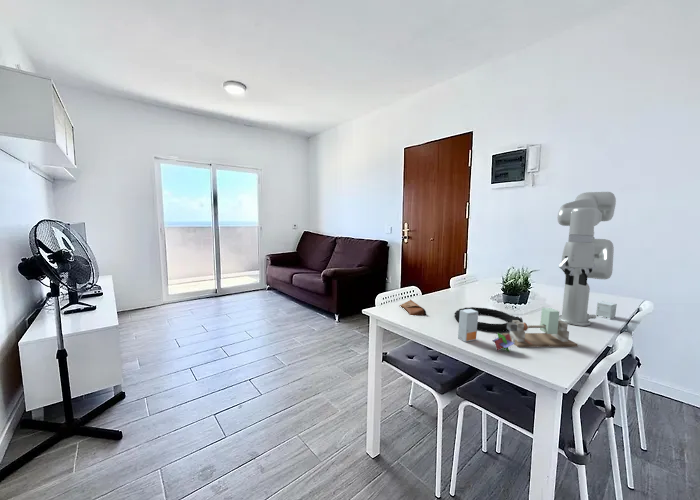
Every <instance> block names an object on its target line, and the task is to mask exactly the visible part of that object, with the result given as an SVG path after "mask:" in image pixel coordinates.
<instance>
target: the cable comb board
mask: <svg viewBox="0 0 700 500" xmlns="http://www.w3.org/2000/svg"><path fill="white" fill-rule="evenodd" d="M506 323H507V329H508V330H510V331H509V332H507V333H506V332H504V333H503V332H501V334H502V335H504V336H505V335H506V334H508V333H509V334H510V335H511V336H512V337H513V338H514V340H515V344H513V345H514V346H515V347H517V348H553V347H555V348H564V347H565V348H567V347H569V348H571V347H573V348H574V347H577V348H578V345H579V344H578V343H576V342H574V341H572V340H570V339H569V338H570V331H568V323H566V322H563V321H561V320H559V321H558V331H557V334H547V333H545V332H543V333H541V332H537V333H536V332H534V333H533V332H529V333H528V332H527V333H526V331H528V329H540V328H546V325H540V324H539V325H534V324H533V325H532V324H531V325H529V324H527V323H526V322H523V323H522V322H520V321H519V320H512V322H507V321H506ZM511 336H510V338H511V342H512V337H511Z"/></svg>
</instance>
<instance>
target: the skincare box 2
mask: <svg viewBox="0 0 700 500" xmlns="http://www.w3.org/2000/svg"><path fill="white" fill-rule="evenodd" d="M617 306H618V304H617V303H613V302H609V301H605V300H601V301H598V302H597V303H596V313H595V315H598V316H597V317H599V316H603V317H607V318H612V319H614V318H613V317H616V312H617ZM603 317H602V318H603ZM607 318H606V319H607Z"/></svg>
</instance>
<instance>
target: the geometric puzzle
mask: <svg viewBox="0 0 700 500" xmlns="http://www.w3.org/2000/svg"><path fill="white" fill-rule="evenodd" d="M507 333H508V334H506V335H505V336H504V335H502V333H501V332H496V334H495V336H494V339H492V342H493V343H494V346H495V349H496V351H497V352H499V351H502V350H505V351H506V352H508V353H510V351H511V349H509V347H512V346H513V345H514V344H515V340H514V338H513V337H512V336H511V335H510V334H509V333H510V332H507ZM510 336H511V337H512V342H511V338H510ZM505 351H502V352H505Z"/></svg>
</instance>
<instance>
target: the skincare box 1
mask: <svg viewBox="0 0 700 500" xmlns="http://www.w3.org/2000/svg"><path fill="white" fill-rule="evenodd" d="M478 319H479V314H478V311H475V310H473V309H465V310H460V316H459V322H458V331H457V333H458V334H457V339H458V340H461V341H462V342H464V343H467V342H473V341H476V340H477V331H478V330H477V322H479V320H478Z"/></svg>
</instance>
